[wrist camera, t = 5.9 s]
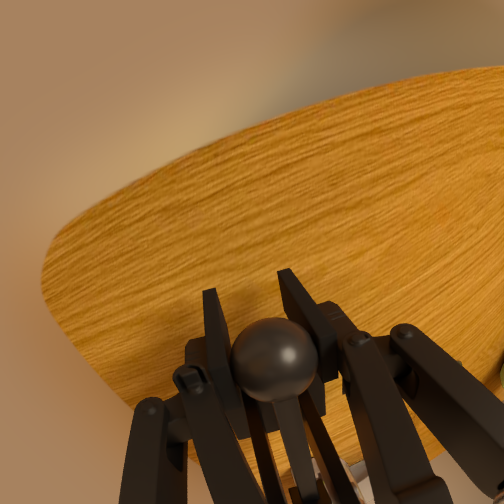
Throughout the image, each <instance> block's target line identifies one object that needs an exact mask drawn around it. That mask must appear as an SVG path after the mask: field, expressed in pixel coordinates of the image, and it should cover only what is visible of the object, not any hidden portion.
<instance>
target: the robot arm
mask: <svg viewBox="0 0 504 504" xmlns="http://www.w3.org/2000/svg"><path fill="white" fill-rule="evenodd" d="M277 274H278V280H279V285H280V291H281V296H282V302H283V307H284V311H285V313H286V315H287V317H288V319H289V320H291V321H293V322H296V323H297V324H299V325H301V326H302V327H303V328H304V329H305V330H306V331H307V332H308V333H309V334H310V336H311V337H312V339H313V340H314V342H315V345H316V348H317V352H318V367H317V371H316V372H317V374H318V376H319V377H320V379H321V381H322V383H326V382H329V381H332V380H334V379H337V378H338V370H339V372H340V373H341V375H342V394H346V397H347V401H348V404H349V407H350V411H351V414H352V418H353V421H354V424H355V428H356V432H357V435H358V439H359V442H360V446H361V450H362V453H363V457H364V461H365V465H366V468H367V472H368V476H369V480H370V484H371V488H372V492H373V497H374V501H375V504H453V501H452V498H451V495H450V493H449V490H448V487H447V485H446V483H445V481H444V480H443V479H442V478H441V477H438V476H436V475H435V474H434V473H433V470H432V468H431V465H430V463H429V460H428V457H427V455H426V452H425V450H424V447H423V445H422V443H421V440H420V438H419V435H418V433H417V431H416V428H415V426H414V424H413V421H412V419H411V417H410V415H409V412H408V410H407V408H406V406H405V404H404V401H405V402H406V403H407V404H408V405H409V406H410V408H411V409H412V410H413V411H414V412H415V413H416V415H417V416H418V417H419V418H420V419H421V420H422V422H423V423H424V424H425V425H426V426H427V428H428V429H429V430H430V431H431V432H432V433H433V435H434V436H435V437H436V438H437V439H438V441H439V442H440V443H441V444H442V445H443V447H444V448H445V449H446V450H447V451H448V453H449V454H450V455H451V456H452V457H453V458H454V460H455V461H456V462H457V463H458V465H459V466H460V467H461V468H462V469H463V470H464V472H465V473H466V474H467V476H468V477H469V478H470V479H471V481H472V482H473V483H474V484H475V485H476V486H477V487H478V488H479V489H480V490H481V491H482V492H483V493H484V494H486V495H487V496H488V497H490V498H491V499H493V500H494V501H493V504H504V404H503V403H502V402H501V401H500V400H499V399H498V398H497V397H496V396H495V395H494V394H493V393H492V392H491V391H489V390H488V389H487V388H486V387H485V386H484V385H483V384H482V383H481V382H480V381H478V380H477V379H476V378H475V377H474V376H473V375H472V374H471V373H469V372H468V371H467V370H466V369H465V368H464V367H463V366H461V365H460V364H459V363H458V362H457V361H456V360H455V359H453V358H452V357H451V356H450V355H449V354H448V353H446V352H445V351H444V350H443V349H442V348H441V347H439V346H438V345H437V344H436V343H435V342H434V341H432V340H431V339H430V338H429V337H428V336H426V335H425V334H424V333H423V332H422V331H420V330H419V329H418V328H417V327H415V326H413V325H412V324H407V323H404V324H398V325H396V326H394V327H393V328H392V329H391V331H390V335H386V336H379V337H372V336H371V335H370V334H369V333H367V332H365V331H359V330H358V329H357V327H356V326H355V325H354V324H353V323H352V321H351V320H350V319H349V318H348V317H347V315H346V314H345V313H344V312H343V311H342V310H341V308H340V307H339V306H338V305H337V304H335V303H333V302H331V301H327V302H323V303H320V304H316V303H315V302H314V300H313V299H312V298H311V296H310V295H309V294H308V292H307V291H306V289H305V288H304V287H303V285H302V284H301V283H300V281H299V280H298V279H297V277H296V276H295V275H294V273H293V272H292V271H291V269H290V268H287V269H284V270H280V271H277ZM202 292H203V311H204V327H205V336H204V337H199V338H195V339H191V340H189V341H188V343H187V345H186V346H185V364H184V365H182V366H180V367H178V368H177V369H176V370H175V372H174V373H173V378H172V379H173V381H174V383H175V385H176V387H177V388H178V390H179V393H178V394H177V395H175V396H173V397H172V398H169V399H167V400H165V401H162V400H161V399H160V398H158V397H148V398H145V399H143V400H142V401H140V402H139V403H138V404H137V406H136V408H135V411H134V416H133V420H132V425H131V430H130V436H129V441H128V446H127V452H126V458H125V463H124V469H123V476H122V482H121V489H120V496H119V504H187V458H188V440H190V439H193V443H194V446H195V449H196V452H197V456H198V459H199V462H200V465H201V468H202V471H203V474H204V477H205V480H206V483H207V486H208V488H209V491H210V494H211V496H212V499H213V502H214V504H268V502H267V500H266V499H265V497H264V495H263V493H262V491H261V489H260V487H259V485H258V483H257V481H256V479H255V477H254V475H253V473H252V471H251V469H250V467H249V465H248V463H247V460H246V458H245V456H244V454H243V452H242V450H241V448H240V445H239V443H238V441H237V439H236V437H235V434H234V432H233V430H232V427H231V425H230V423H229V421H228V418H227V416H226V414H225V410H224V407H225V409H226V411H229V410H233V409H238V408H242V407H243V404H242V399H241V394H240V390H239V386H238V385H237V383H236V381H235V380H234V378H233V375H232V372H231V368H230V353H231V345H230V339H229V334H228V329H227V324H226V321H225V318H224V315H223V311H222V308H221V305H220V302H219V298H218V295H217V292H216V288H212V289H208V290H204V291H202ZM402 398H403V399H404V401H403V399H402Z"/></svg>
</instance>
